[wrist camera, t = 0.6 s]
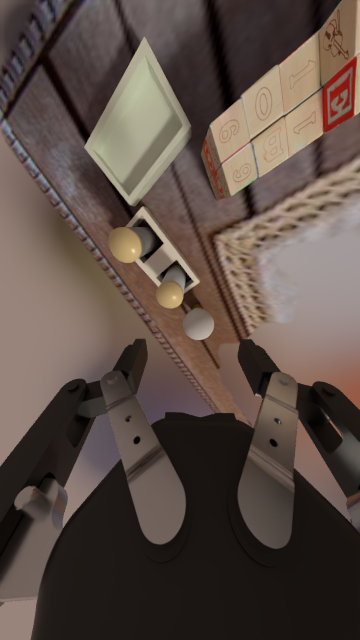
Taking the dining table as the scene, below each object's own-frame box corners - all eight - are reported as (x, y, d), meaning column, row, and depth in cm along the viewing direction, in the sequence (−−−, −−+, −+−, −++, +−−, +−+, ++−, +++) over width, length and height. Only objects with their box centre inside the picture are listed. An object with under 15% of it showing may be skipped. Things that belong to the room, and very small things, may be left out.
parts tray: (150, 61, 18) (144, 36, 15) (191, 137, 21) (191, 126, 18) (95, 155, 22) (84, 147, 20) (135, 206, 25) (129, 204, 23)
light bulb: (180, 311, 35) (176, 337, 27) (193, 291, 33) (194, 313, 24) (200, 322, 37) (202, 351, 28) (215, 304, 34) (223, 329, 25)
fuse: (177, 261, 30) (170, 276, 20) (189, 277, 31) (188, 298, 22) (163, 273, 31) (150, 293, 22) (175, 288, 33) (168, 312, 23)
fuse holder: (147, 208, 25) (142, 206, 23) (199, 277, 31) (199, 281, 28) (122, 237, 28) (115, 238, 25) (173, 296, 34) (172, 302, 31)
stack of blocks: (216, 202, 24) (237, 194, 14) (199, 154, 21) (212, 101, 11) (384, 89, 18) (641, -72, 8) (395, -4, 15) (843, -470, 5)
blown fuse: (146, 221, 26) (121, 218, 17) (162, 241, 28) (146, 248, 19) (132, 238, 28) (102, 243, 19) (147, 255, 29) (126, 269, 20)
